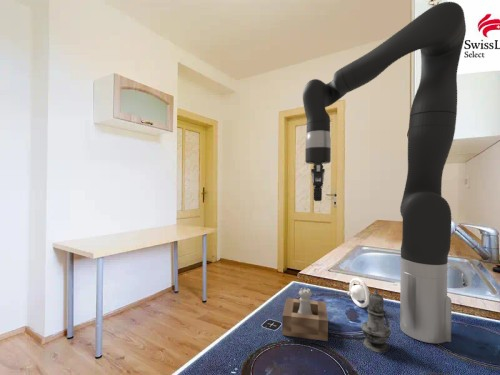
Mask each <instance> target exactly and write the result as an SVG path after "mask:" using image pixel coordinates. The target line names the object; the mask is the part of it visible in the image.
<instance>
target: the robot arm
mask: <svg viewBox="0 0 500 375" xmlns="http://www.w3.org/2000/svg"><path fill="white" fill-rule="evenodd" d="M465 19H466V18H465V12H464V9H463V8H462V6H461V5H460V4H459V3H457V2H455V1H444V2H440V3H437V4H435V5H434V6H431V7H430V8H428V9H427V10H425V11H424V12H422V13H421V14H420V15H418V16H417V17H415V18H414V19H413V20H411V22H409V23H408V24H407V25H405V26H404V27H403V28H401V29H400V30H398V31H397V32H396V33H394V34H393V35H391V36H390V37H389V38H387V39H386V40H385V41H383V42H382V43H380V44H379V45H377V46H376V47H374V48H373V49H372V50H371V51H369V52H367V53H366V54H363V55H362V56H360V57H358V58H357V59H356V60H354V61H352V62H350V63H348V64H346V65H344V66H343V67H341V68H339V69H338V70H337V71H335V72H334V74H333V77H332V78H333V79H332V80H331V81H329V82H328V83H326V82H324V81H322V80H320V79H317V78H313V79H311V80H309V81H308V82H307V83H306V85H305V86H304V87H303V92H302V104H303V108H304V114H305V118H306V134H305V136H306V137H305V156H304V157H305V161H304V162H305V163H306V164H311V165H313V167H312V168H311V169H310V175H311V183H312V188H313V200H314V201H315V202H321V201H322V199H323V195H322V194H323V187H324V181H325V174H326V173H325V172H326V170H325V168H324V164H329V163H330V162H331V157H332V156H331V153H332V151H331V147H332V141H331V140H332V139H331V138H332V137H331V118H330V114H329V113H328V112H327V110H326V108H327V107H329V106H332V105H333V104H335V103H336V102H338V101H339V100H340V99H342V98H343V97H344V96H345V95H347V93H350V92H352V91H354V90H357V89H359V88H360V87H363V86H365V85H367V84H368V83H370V82H371V81H373V80H375V79H376V78H377V77H378V76H379V75H381V74H382V73H383V72H384V71H386V69H387V68H389V67H390V66H391V65H393V64H394V63H395V62H397V61H398V60H400V59H401V58H403V57H405V56H407V55H409V54H411V53H413V52H416V51H418V50H420V57H421V62H420V64H421V66H420V79H419V84H418V88H417V90H416V93H415V95H414V99H413V101H412V104H411V106H410V107H411V108H410V112H409V123H408V129H407V130H408V132H407V133H408V134H407V173H406V174H407V175H406V180H405V185H404V186H405V187H404V191H403V195H402V199H401V203H400V208H399V209H400V210H399V212H400V215H401V218H402V230H401V231H402V235H401V236H402V237H401V238H402V239H401V247H400V291H399V294H400V295H399V296H400V299H399V300H400V303H399V306H400V307H399V308H400V309H399V311H400V312H399V313H400V314H399V325H400V326H399V328H400V330H401V331H402V333H404V334H405V335H407V336H409V337H410V338H412V339H415V340H416V341H417V340H418V341H420V342H424V343H429V344H444V343H447V342H448V343H451V342H452V299H451V297H449V295H448V259H449V258H448V257H449V253H450V250H451V241H452V240H451V239H452V238H451V237H452V210H451V206H450V204H449V203H448V201H447V200H446V199H445V198H444V197H443V196H442V185H443V184H442V180H443V174H444V173H443V172H444V169H445V166H446V162H447V160H448V157H449V154H450V151H451V148H452V145H453V141H454V138H455V133H456V124H457V115H458V114H457V113H458V81H457V80H458V79H457V78H458V77H457V76H458V68H459V63H460V59H461V54H462V50H463V45H464V41H465V37H466V34H467V26H466V20H465Z"/></svg>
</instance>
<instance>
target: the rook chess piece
mask: <svg viewBox="0 0 500 375" xmlns="http://www.w3.org/2000/svg"><path fill="white" fill-rule="evenodd" d="M298 295H299V296H300V298H299V299H300V308H299V310H298V313H301V314H310V315H313V314H312V311H311V307H310V301H312V299H311V296H312V295H313V293H312V290H311V289H310V288H307V287H301V288H300V289H299V291H298Z"/></svg>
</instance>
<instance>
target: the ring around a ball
mask: <svg viewBox="0 0 500 375" xmlns="http://www.w3.org/2000/svg"><path fill="white" fill-rule="evenodd" d="M355 283H358V284H355ZM354 284H355V285H354ZM348 288H349V289H348V292H347V296H350V297H351V299H352V301H353V303H354V304H355V305H356V306H357V307H360V308H366V307H368V306H369V295H370V290H369V287H368V285H367V283H366V282H365V281H364V280H363V279H362V278H360V277H354V278H352V279H351V280H350V282H349V286H348ZM359 301H364V302H362V303H361V302H359Z"/></svg>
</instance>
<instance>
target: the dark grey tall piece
mask: <svg viewBox="0 0 500 375" xmlns="http://www.w3.org/2000/svg"><path fill="white" fill-rule="evenodd" d="M378 292H379V291H378V290H377V289H375V290H374V292H373V293H371V294H370V295H369V304H368V307H367V308H366V311H367V313H368V314H367V315H368V317H367V318H368V319H367V321H365V322H363V323H362V324H360V328H361V329H362V333H363V336H364V337H365V338H363V339H362V340H361V341H362V342H361V343H362V345H363V346H364V347H365V348H366V349H367V350H369V351H371V352H375V353H379V354H382V353H387V352H389V351H390V346H389V344H388V343H387V342H388V341H389V339H390V335H392V331H391V329H390V328H389V327H388V326H386V325H385V323H384V320H385V319H384V317H385V315H386V311H385V310H384V297H383V296H382V295H381V294H379V293H378Z"/></svg>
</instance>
